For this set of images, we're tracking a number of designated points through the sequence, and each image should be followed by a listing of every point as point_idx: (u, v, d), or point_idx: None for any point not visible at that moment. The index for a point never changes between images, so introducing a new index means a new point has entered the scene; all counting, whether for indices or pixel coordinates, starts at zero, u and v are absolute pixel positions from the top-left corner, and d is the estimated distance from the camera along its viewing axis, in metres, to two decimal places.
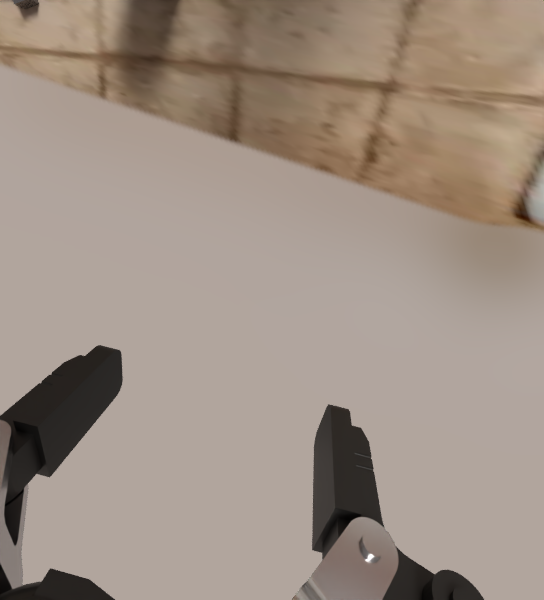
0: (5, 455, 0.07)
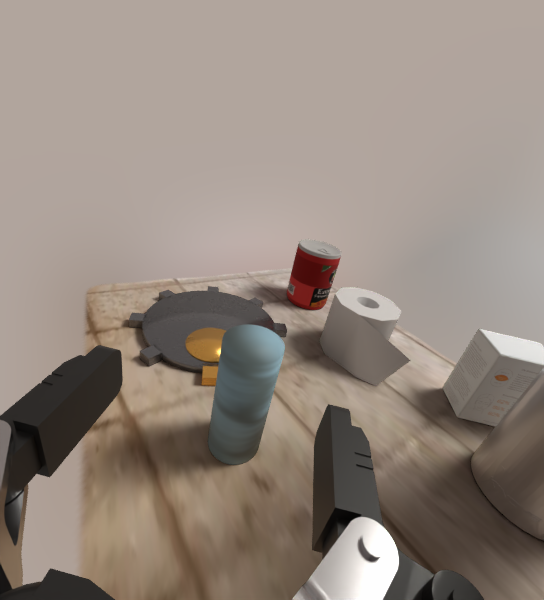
0: (5, 455, 0.07)
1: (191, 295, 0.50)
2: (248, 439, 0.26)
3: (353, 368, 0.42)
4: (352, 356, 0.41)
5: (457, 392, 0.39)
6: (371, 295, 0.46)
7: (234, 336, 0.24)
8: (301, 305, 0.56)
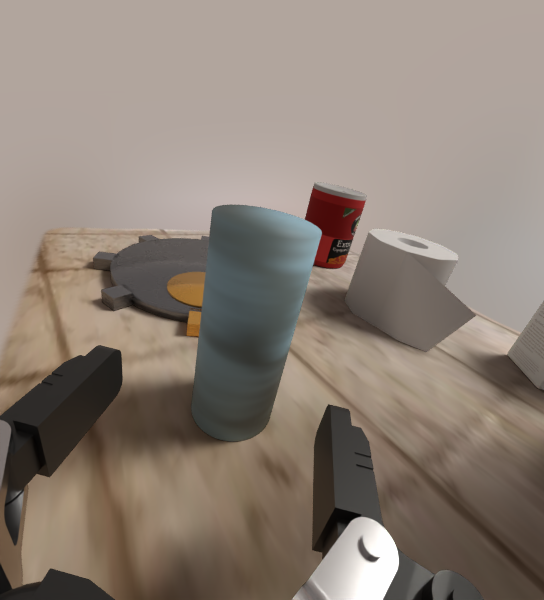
0: (5, 455, 0.07)
1: (180, 242, 0.39)
2: (256, 397, 0.16)
3: (395, 328, 0.31)
4: (393, 312, 0.31)
5: (535, 355, 0.29)
6: (414, 238, 0.35)
7: (234, 211, 0.14)
8: (316, 262, 0.45)
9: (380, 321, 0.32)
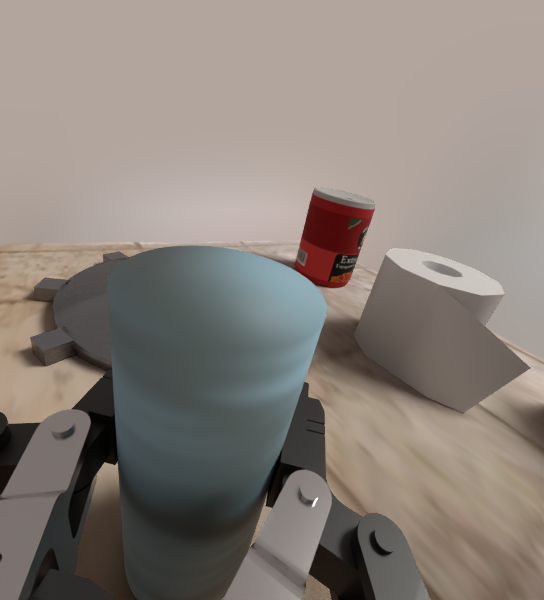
0: (80, 448, 0.07)
1: None
2: (216, 568, 0.09)
3: (421, 380, 0.24)
4: (419, 360, 0.24)
5: None
6: (441, 260, 0.28)
7: (163, 265, 0.07)
8: (316, 280, 0.39)
9: (401, 369, 0.25)
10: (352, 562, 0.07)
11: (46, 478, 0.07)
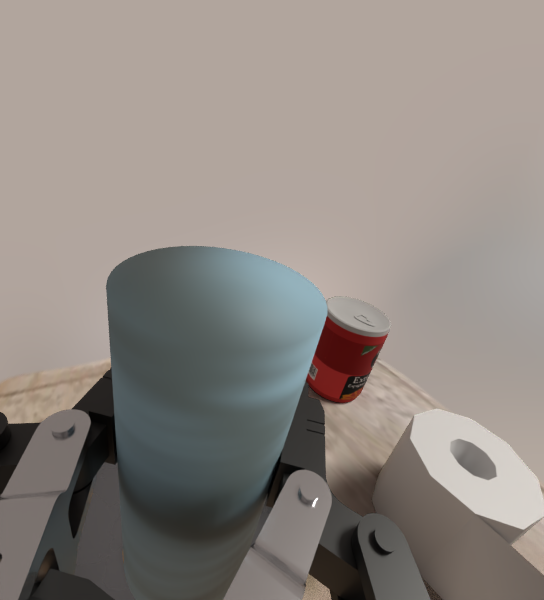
0: (80, 449, 0.07)
1: None
2: (216, 570, 0.09)
3: (450, 595, 0.22)
4: (449, 575, 0.21)
5: None
6: (469, 431, 0.25)
7: (162, 266, 0.07)
8: (327, 396, 0.37)
9: (427, 573, 0.23)
10: (352, 562, 0.07)
11: (46, 478, 0.07)
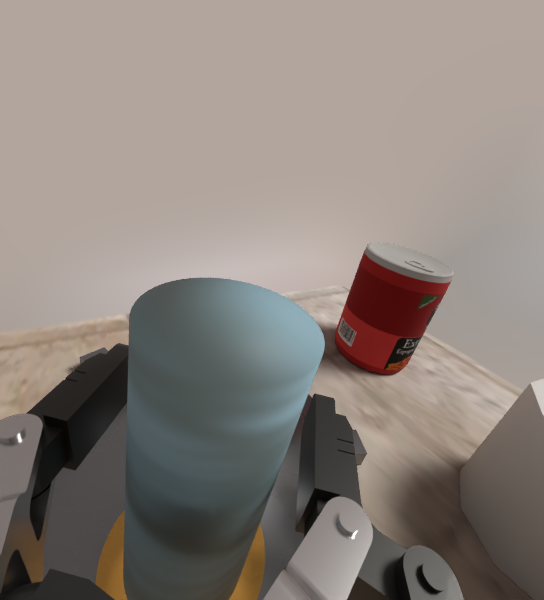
0: (35, 450, 0.07)
1: None
2: (214, 583, 0.10)
3: None
4: None
5: None
6: None
7: (176, 300, 0.08)
8: (368, 367, 0.29)
9: None
10: None
11: (0, 484, 0.06)
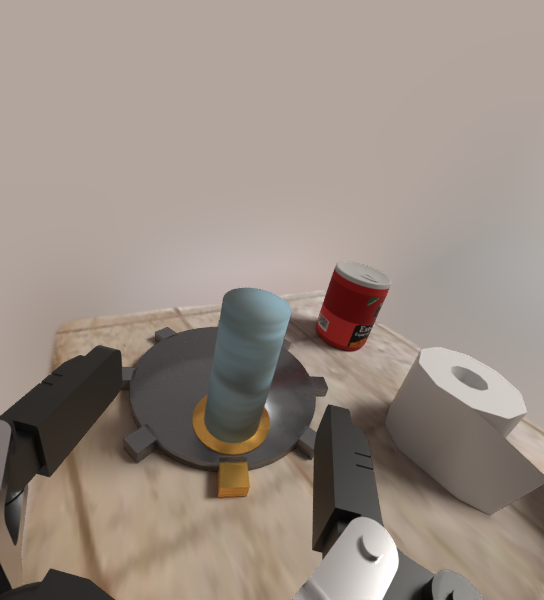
0: (5, 455, 0.07)
1: (198, 335, 0.37)
2: (249, 414, 0.24)
3: (452, 483, 0.27)
4: (451, 465, 0.27)
5: None
6: (466, 362, 0.31)
7: (236, 297, 0.22)
8: (337, 345, 0.44)
9: (433, 469, 0.28)
10: None
11: None
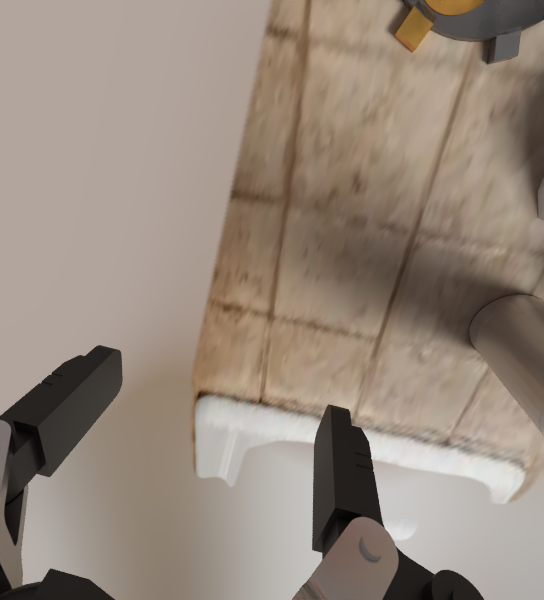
0: (5, 455, 0.07)
1: None
2: None
3: None
4: None
5: None
6: None
7: None
8: None
9: None
10: None
11: None
